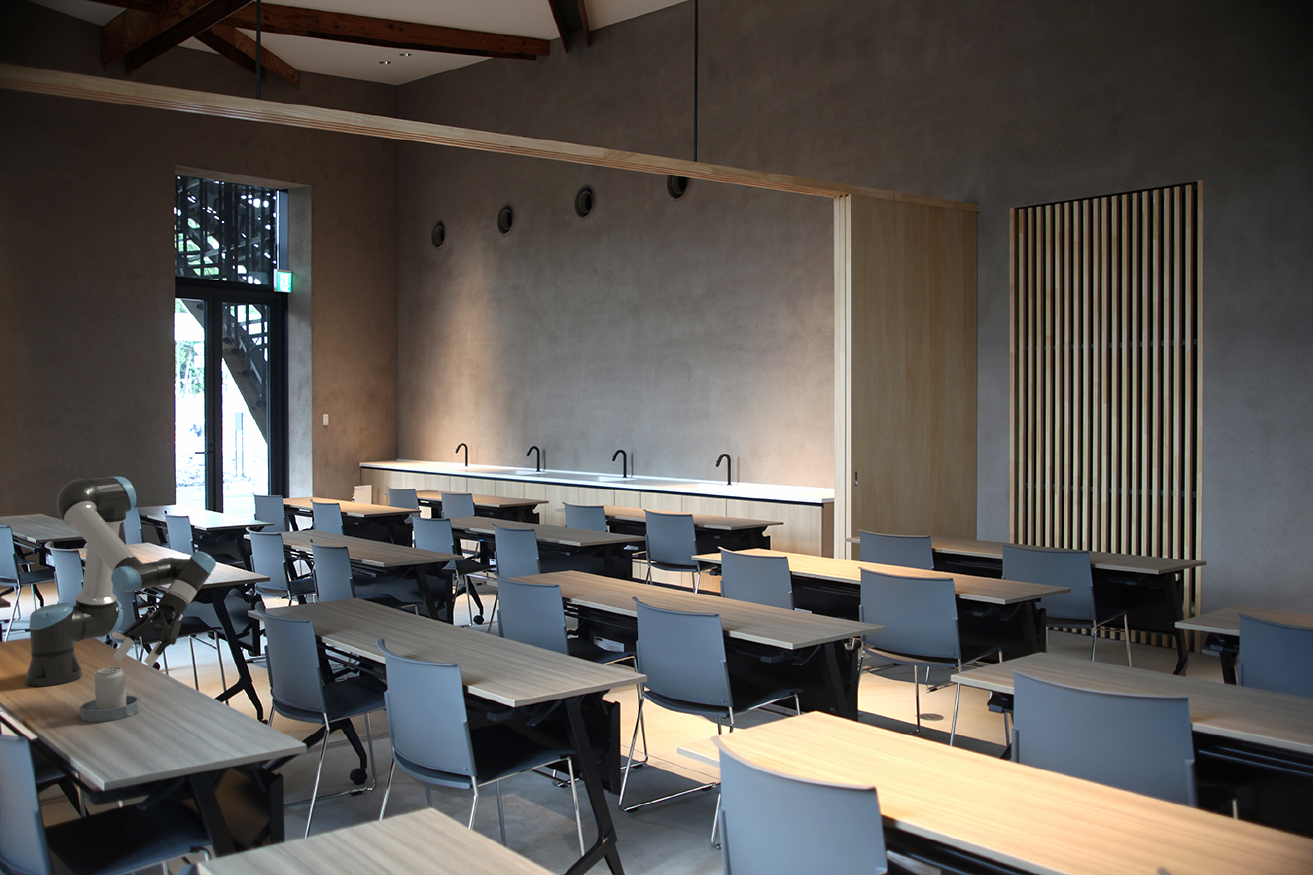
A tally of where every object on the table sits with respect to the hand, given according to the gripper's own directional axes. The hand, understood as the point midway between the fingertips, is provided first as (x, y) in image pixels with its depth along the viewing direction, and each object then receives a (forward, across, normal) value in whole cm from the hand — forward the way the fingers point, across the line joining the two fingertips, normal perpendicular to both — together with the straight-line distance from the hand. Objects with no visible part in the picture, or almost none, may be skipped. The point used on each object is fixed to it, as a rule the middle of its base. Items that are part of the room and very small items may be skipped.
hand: (132, 661), depth 281 cm
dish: (+14, 0, -4) cm, 15 cm away
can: (+14, 0, -4) cm, 14 cm away
